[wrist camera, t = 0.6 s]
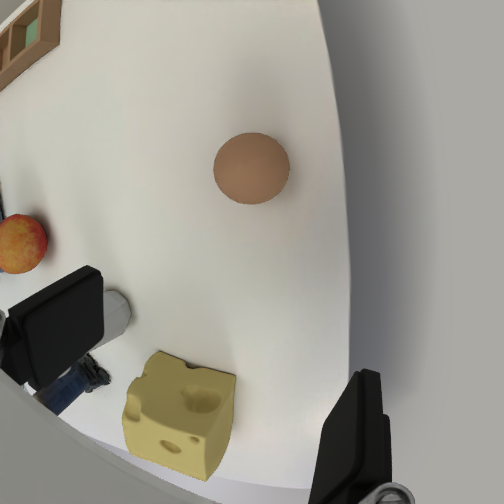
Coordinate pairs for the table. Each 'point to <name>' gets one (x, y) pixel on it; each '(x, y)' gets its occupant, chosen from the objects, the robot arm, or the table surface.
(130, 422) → the cheese
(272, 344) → the table surface
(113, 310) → the salt shaker
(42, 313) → the robot arm
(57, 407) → the dark blue cylinder
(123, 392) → the table surface
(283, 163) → the egg
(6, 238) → the fruit
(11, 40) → the compartment tray
